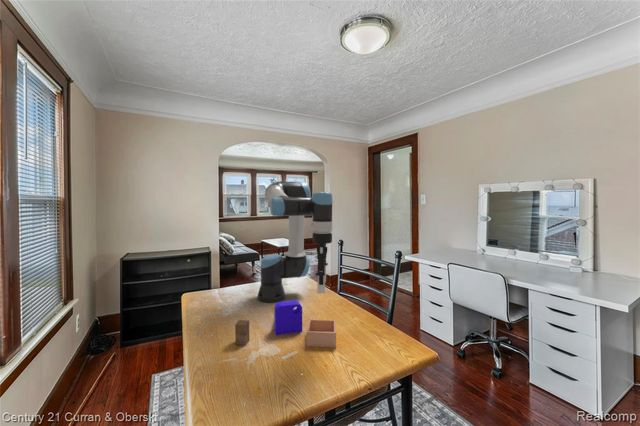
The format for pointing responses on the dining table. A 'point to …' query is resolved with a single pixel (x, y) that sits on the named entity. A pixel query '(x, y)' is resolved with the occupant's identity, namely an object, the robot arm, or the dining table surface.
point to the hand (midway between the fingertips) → (321, 287)
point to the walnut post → (242, 332)
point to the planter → (321, 333)
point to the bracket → (287, 317)
